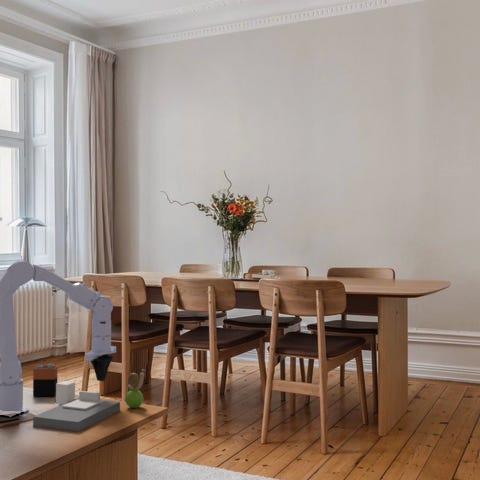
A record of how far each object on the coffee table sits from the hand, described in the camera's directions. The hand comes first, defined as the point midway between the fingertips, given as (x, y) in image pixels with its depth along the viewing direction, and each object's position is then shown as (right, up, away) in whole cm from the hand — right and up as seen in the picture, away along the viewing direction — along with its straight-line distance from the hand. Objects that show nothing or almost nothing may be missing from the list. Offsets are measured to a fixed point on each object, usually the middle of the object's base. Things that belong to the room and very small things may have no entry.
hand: (101, 380), depth 192 cm
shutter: (-3, -5, -9) cm, 11 cm away
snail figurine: (+11, -8, -2) cm, 14 cm away
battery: (-20, -8, +12) cm, 25 cm away
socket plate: (-3, -8, -13) cm, 16 cm away
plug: (-11, -8, 0) cm, 13 cm away
